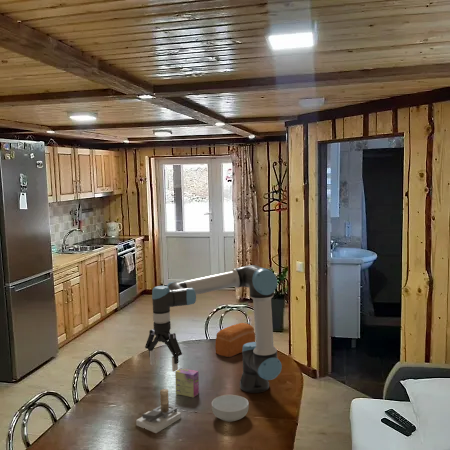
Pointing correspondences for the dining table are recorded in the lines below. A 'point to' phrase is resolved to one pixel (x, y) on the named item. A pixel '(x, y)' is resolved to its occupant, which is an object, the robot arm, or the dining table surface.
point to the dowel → (164, 400)
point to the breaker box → (160, 420)
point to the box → (187, 382)
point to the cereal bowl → (230, 407)
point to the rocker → (152, 415)
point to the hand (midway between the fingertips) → (163, 367)
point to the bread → (234, 339)
